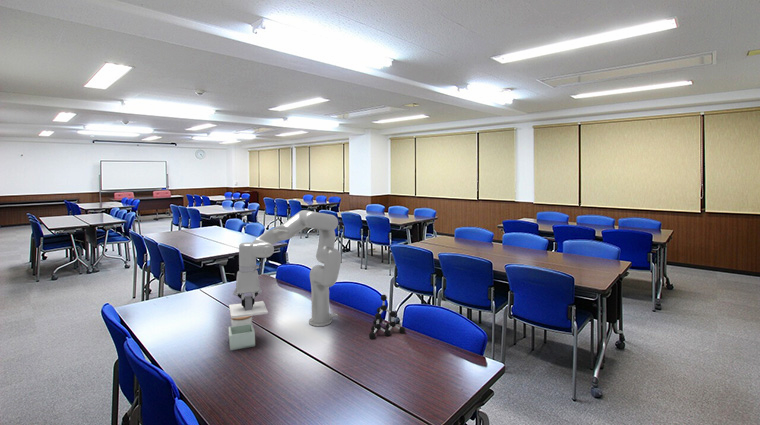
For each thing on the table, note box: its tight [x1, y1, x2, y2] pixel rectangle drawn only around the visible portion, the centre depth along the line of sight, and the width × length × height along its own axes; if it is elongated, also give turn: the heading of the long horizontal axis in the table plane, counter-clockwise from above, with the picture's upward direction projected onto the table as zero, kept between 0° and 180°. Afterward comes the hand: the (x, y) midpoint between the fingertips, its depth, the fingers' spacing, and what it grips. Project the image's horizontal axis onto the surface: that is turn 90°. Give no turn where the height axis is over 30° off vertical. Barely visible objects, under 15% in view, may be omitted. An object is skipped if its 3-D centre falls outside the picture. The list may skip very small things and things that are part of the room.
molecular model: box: [368, 294, 406, 340], centre depth 190 cm, size 18×20×20 cm
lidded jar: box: [230, 316, 253, 326], centre depth 195 cm, size 11×11×9 cm
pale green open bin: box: [228, 322, 256, 351], centre depth 178 cm, size 11×11×7 cm
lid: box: [228, 295, 269, 319], centre depth 178 cm, size 16×16×6 cm
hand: (248, 306), depth 178 cm, fingers closed on lid, 3 cm apart
